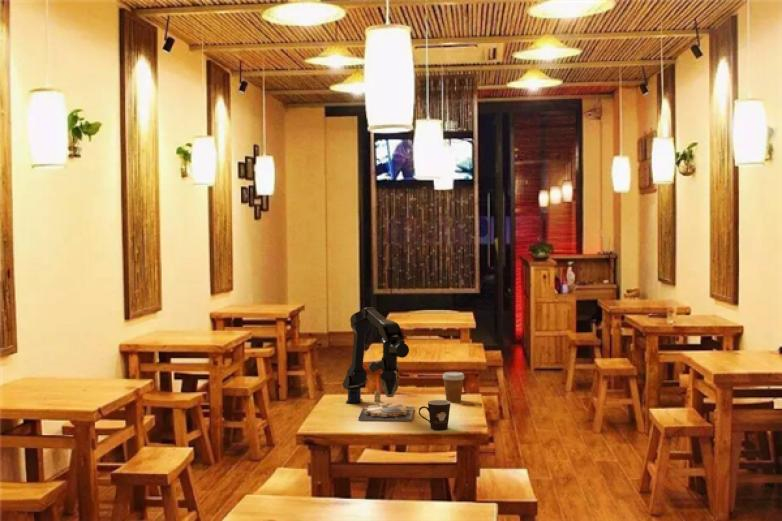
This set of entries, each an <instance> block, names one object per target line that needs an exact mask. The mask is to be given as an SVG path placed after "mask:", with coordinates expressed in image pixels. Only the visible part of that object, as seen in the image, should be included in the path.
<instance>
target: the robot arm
mask: <svg viewBox="0 0 782 521" xmlns="http://www.w3.org/2000/svg"><path fill="white" fill-rule="evenodd" d="M349 319H350V320H349V321H350V328H351V329H352V331H353V342H352V354H351V365H350V366H349V368H348V369H347V371H346V376H345V378H344V379H343V381H342V388H343V389H345V390H347V399H346V401H345V404H362V402H363V399H362V393H361V392H362V389H364V388H366V385H367V376H368V375H367V374H368V372H367V370H365V368H364V355H365V347H366V346H365V345H366V344H365V343H366V334H367V333H368V331H369V330H370V328H371V324H373V325H374V326H375V327H377V329H378V333H379V334H380V336H381V337H382V338H381V339H380V342H381V343H382V356H381V359H379V360H376V361H373V362H372V361H371V362H370V363H368V368H369V371H370V373H375V372H377V371H379V370H381V372H380V380H381V379H382V380H383V381H385V383H386V387H387V391H388V394H389V395H391V393H392V390H393V387H394V385H395V382H396V379H397V377H398V375H399V371H400V365H398V358H406V357H408V355H409V353H410V348H409V345H408V344H407V343H406V342H405V338H404V334H403V332H402V329H401V326H400V325H399V323H398V322H397V321H394V320H390V319H387V318H386V317H385V316H384V315H382V314H381V313H380V312H378V311H377V309H376V308H375V307H370V306H369V307H363V308H362V309H361V310H359V311H357V312H355V313H353V314H352V315H351V317H350V318H349Z"/></svg>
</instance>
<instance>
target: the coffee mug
mask: <svg viewBox="0 0 782 521" xmlns="http://www.w3.org/2000/svg"><path fill="white" fill-rule="evenodd" d="M451 404H452V402H450V401H446V399H433V400H429V401H427V406H421V407H419V409H418V414H419V417H421V418H422V419H423V420H425V421H427V422H429V425H430V430H432V431H437V432H438V431H448V429H449V418H450V410H451ZM423 409H426V410H427V412H428V416H429V419H428V418H426V417H424V416H423V415H422V414H421V410H423Z"/></svg>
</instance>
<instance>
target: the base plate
mask: <svg viewBox="0 0 782 521" xmlns="http://www.w3.org/2000/svg"><path fill="white" fill-rule="evenodd" d="M367 406H368V405H364V406H363V408H362V410H361V412H360V413H359V415H358V417H357V419H358V421H359V422H412V421H413V416H414V411H415V407H414V406H408V407H409V409H410V412H407V414H405V415H400V416H393V417H380V416H372V415H370V414H366V413H364V408H367Z"/></svg>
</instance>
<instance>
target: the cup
mask: <svg viewBox="0 0 782 521" xmlns="http://www.w3.org/2000/svg"><path fill="white" fill-rule="evenodd" d="M380 382H381V389H382V391H383V392H384V393H385V397H386V398H393V397H395V393H397V392H398V389H399V383H400V376H397V379H396V382H395V385H394V387H393V390H392V393H391V395H389V394H388V391H387V387H386V383H385V381H383V380H382V379H381V378H380Z"/></svg>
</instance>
